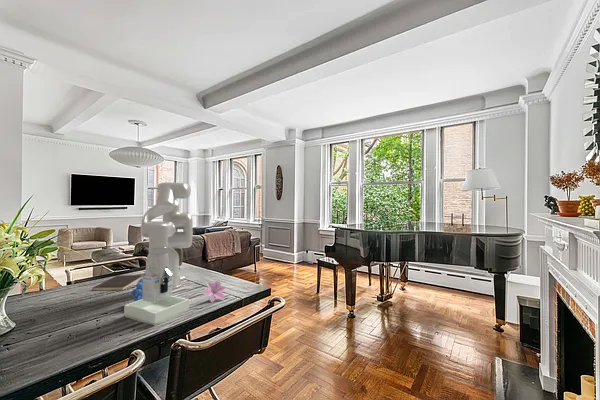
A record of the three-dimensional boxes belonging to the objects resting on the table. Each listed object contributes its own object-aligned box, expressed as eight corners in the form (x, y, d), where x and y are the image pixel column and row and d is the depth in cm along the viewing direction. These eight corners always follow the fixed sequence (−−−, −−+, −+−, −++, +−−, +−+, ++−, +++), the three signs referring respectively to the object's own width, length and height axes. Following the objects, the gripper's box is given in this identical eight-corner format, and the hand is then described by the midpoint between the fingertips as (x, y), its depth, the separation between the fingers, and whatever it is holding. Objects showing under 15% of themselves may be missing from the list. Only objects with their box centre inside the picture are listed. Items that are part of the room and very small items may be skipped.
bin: (159, 303, 133) (159, 292, 133) (188, 310, 125) (189, 299, 125) (124, 316, 117) (124, 305, 117) (155, 325, 109) (155, 313, 109)
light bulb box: (161, 293, 127) (162, 269, 127) (173, 294, 125) (173, 271, 125) (141, 300, 117) (141, 275, 117) (153, 303, 114) (153, 277, 115)
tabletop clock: (181, 269, 196) (181, 234, 196) (183, 272, 189) (183, 236, 189) (158, 271, 189) (159, 235, 189) (159, 274, 181) (160, 237, 181)
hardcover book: (142, 278, 174) (143, 275, 174) (123, 290, 151) (123, 286, 151) (116, 279, 172) (116, 275, 172) (92, 291, 149) (92, 287, 149)
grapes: (134, 300, 135) (135, 276, 135) (149, 299, 137) (150, 275, 137) (126, 309, 124) (126, 283, 124) (142, 308, 126) (142, 282, 126)
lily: (197, 305, 133) (203, 290, 130) (202, 288, 144) (207, 274, 141) (221, 310, 137) (227, 296, 134) (224, 293, 147) (230, 280, 144)
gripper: (137, 250, 121) (136, 290, 121) (165, 254, 114) (164, 297, 114) (152, 248, 128) (152, 286, 128) (179, 251, 121) (179, 291, 120)
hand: (157, 290), depth 121 cm, fingers closed on light bulb box, 7 cm apart
